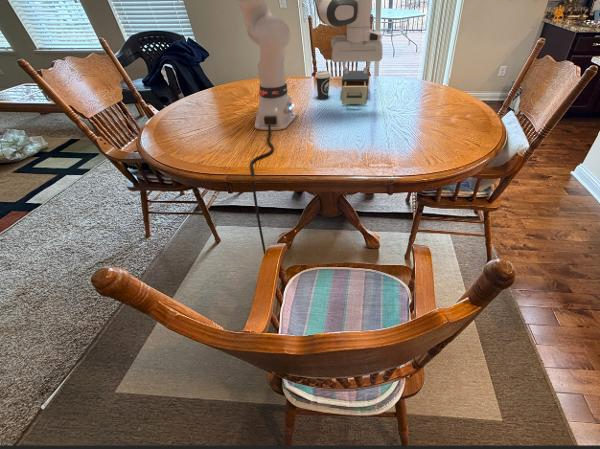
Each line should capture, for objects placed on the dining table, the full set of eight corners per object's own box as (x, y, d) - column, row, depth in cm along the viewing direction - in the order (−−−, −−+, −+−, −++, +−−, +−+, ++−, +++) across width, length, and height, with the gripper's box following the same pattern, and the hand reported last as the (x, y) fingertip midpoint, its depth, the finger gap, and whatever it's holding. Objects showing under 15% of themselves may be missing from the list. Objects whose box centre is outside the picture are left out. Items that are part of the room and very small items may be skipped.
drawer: (366, 107, 140) (367, 89, 135) (341, 107, 142) (341, 90, 136) (366, 94, 153) (367, 77, 148) (343, 94, 155) (343, 78, 150)
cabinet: (367, 99, 150) (368, 78, 144) (341, 99, 152) (341, 79, 146) (366, 90, 161) (368, 70, 155) (342, 90, 163) (343, 70, 157)
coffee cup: (328, 94, 159) (329, 69, 152) (331, 99, 154) (332, 73, 146) (314, 96, 159) (313, 71, 151) (316, 100, 153) (316, 75, 145)
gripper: (330, 37, 117) (330, 75, 126) (385, 35, 114) (380, 75, 123) (331, 34, 121) (331, 71, 130) (384, 32, 118) (380, 70, 127)
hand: (355, 73), depth 126 cm, fingers open, 6 cm apart
